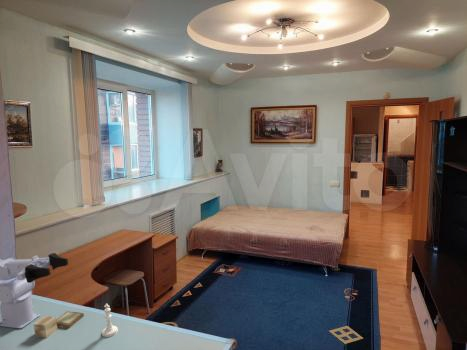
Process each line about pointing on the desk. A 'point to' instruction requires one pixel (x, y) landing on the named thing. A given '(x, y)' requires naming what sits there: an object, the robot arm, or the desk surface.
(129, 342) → the desk surface
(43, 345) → the desk surface
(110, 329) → the chess piece
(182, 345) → the desk surface
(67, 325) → the brown framed square tile
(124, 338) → the desk surface
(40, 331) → the birch cube
